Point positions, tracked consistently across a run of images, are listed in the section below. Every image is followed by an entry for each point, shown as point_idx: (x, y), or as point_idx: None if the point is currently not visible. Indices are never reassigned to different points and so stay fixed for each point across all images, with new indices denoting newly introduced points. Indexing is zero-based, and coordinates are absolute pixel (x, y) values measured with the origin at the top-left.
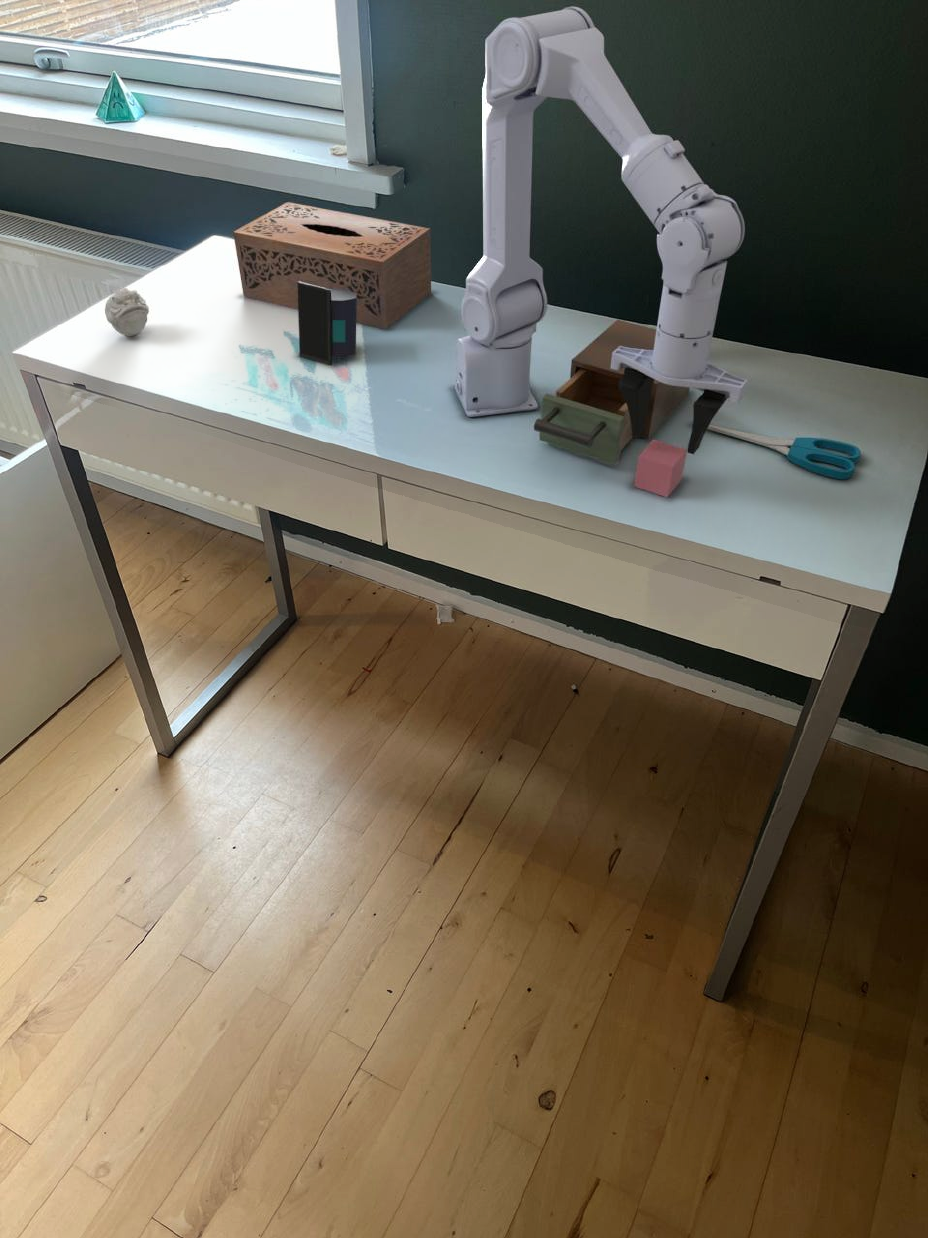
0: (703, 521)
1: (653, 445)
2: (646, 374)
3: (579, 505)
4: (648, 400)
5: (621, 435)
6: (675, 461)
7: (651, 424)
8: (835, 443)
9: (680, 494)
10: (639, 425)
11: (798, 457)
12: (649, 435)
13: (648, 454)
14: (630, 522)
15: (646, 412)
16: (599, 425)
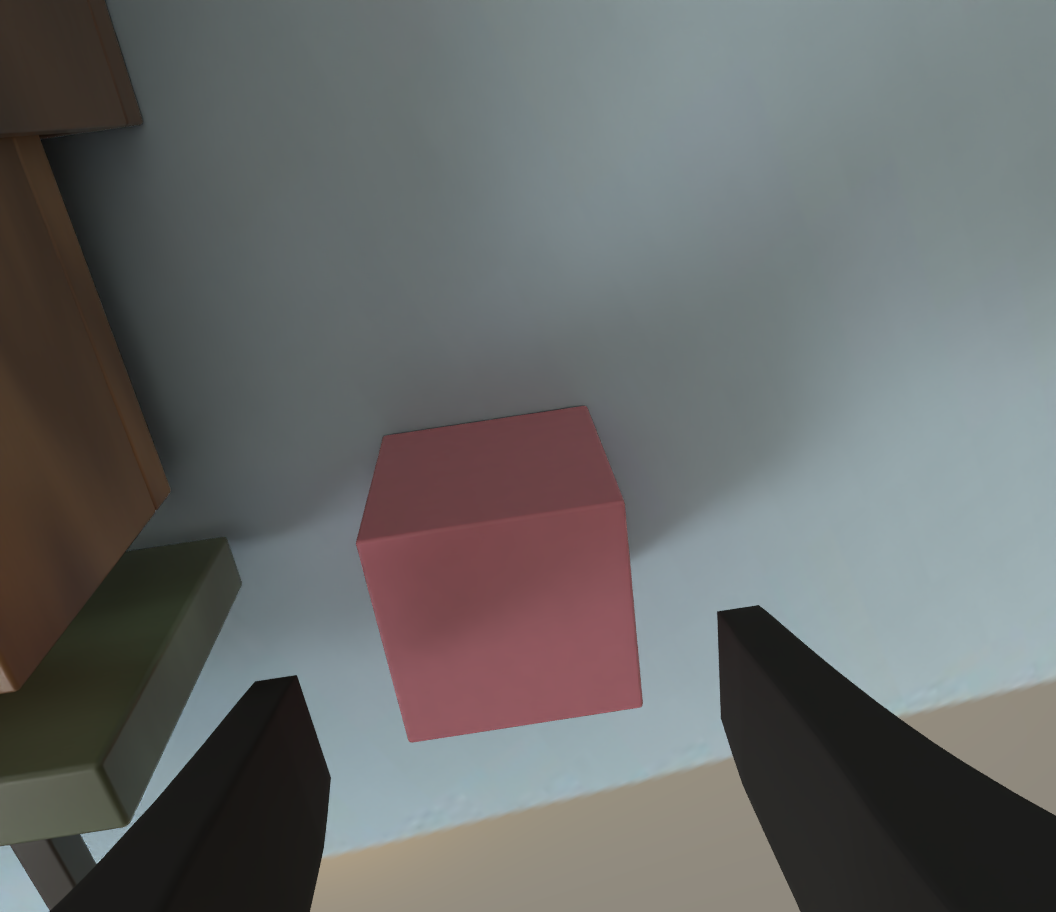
0: (824, 612)
1: (407, 605)
2: None
3: (329, 830)
4: (194, 883)
5: (172, 676)
6: (626, 659)
7: (88, 108)
8: None
9: (643, 511)
10: (305, 846)
11: None
12: (131, 112)
13: (447, 701)
14: (563, 790)
15: (247, 792)
16: (30, 850)
